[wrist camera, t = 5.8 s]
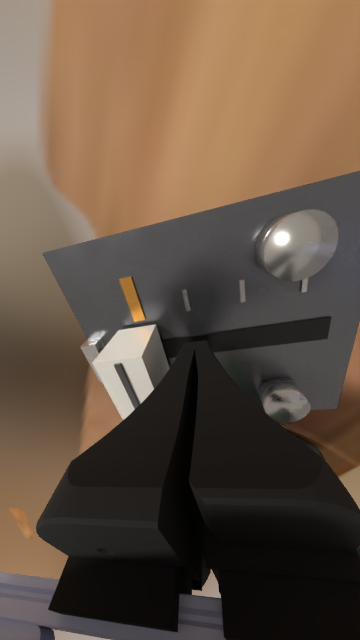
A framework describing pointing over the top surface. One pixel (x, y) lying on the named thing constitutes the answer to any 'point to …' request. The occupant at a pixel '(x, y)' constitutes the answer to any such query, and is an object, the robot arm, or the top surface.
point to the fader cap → (132, 366)
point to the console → (236, 290)
